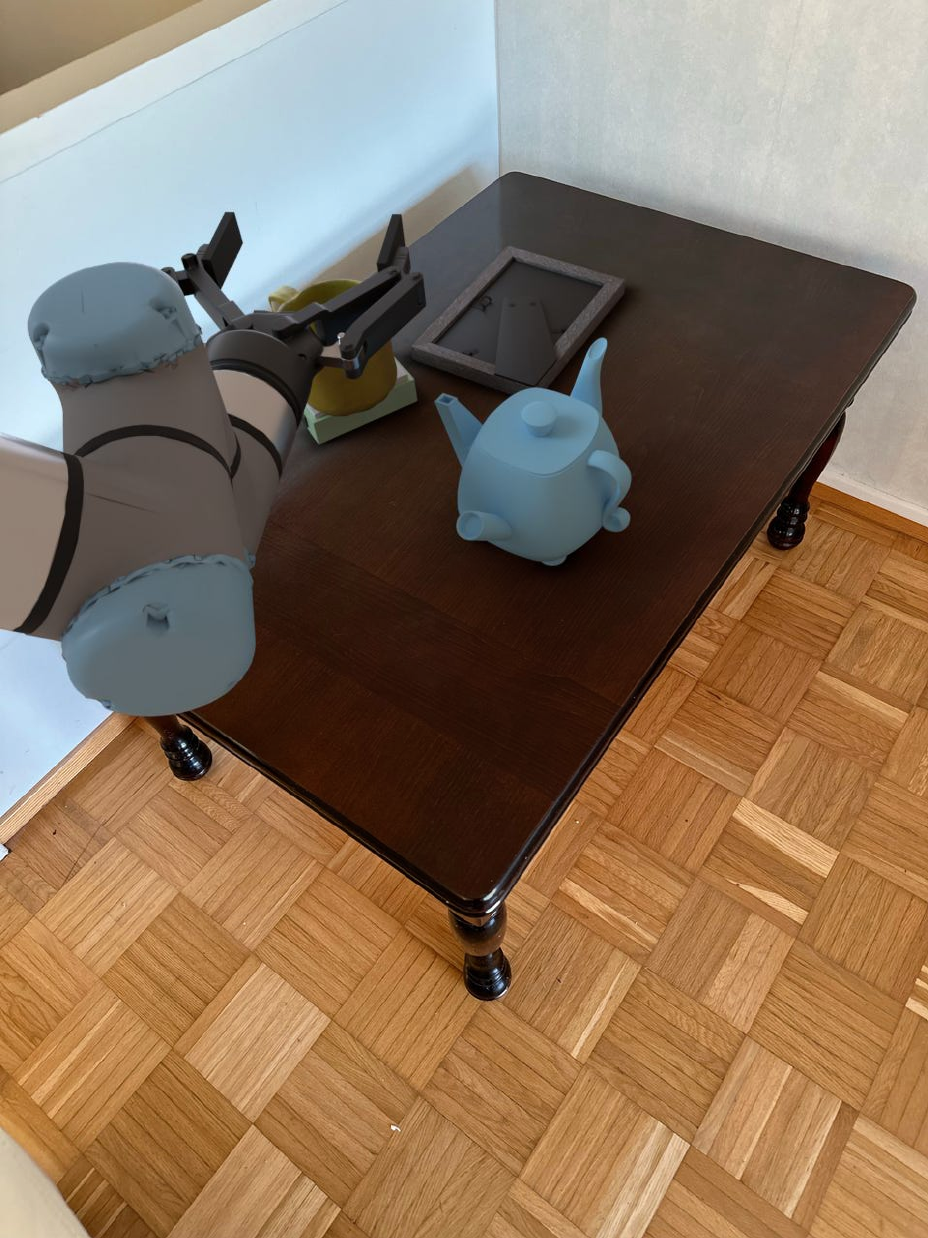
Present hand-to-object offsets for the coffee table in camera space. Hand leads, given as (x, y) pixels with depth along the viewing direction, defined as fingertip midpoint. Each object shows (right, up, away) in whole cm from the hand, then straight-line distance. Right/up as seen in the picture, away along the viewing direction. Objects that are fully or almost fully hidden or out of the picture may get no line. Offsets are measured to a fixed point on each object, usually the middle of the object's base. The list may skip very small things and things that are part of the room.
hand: (315, 228), depth 72 cm
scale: (+1, -11, +11) cm, 16 cm away
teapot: (+17, -23, +1) cm, 29 cm away
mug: (0, -10, +8) cm, 13 cm away
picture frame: (+17, -3, +16) cm, 24 cm away
